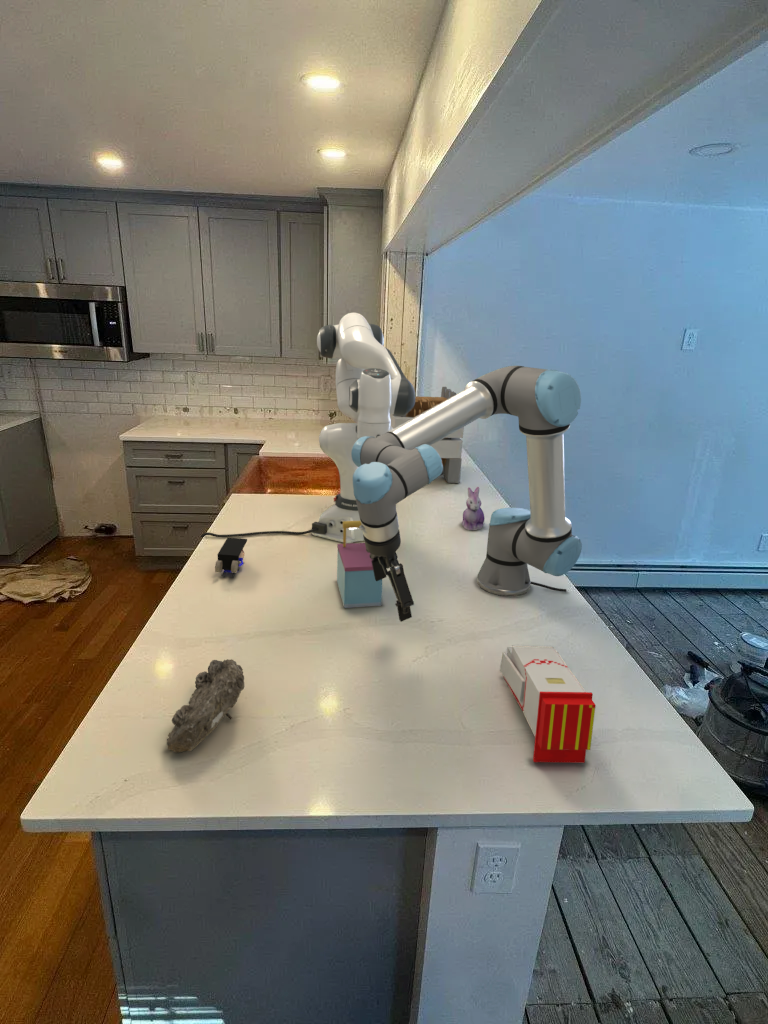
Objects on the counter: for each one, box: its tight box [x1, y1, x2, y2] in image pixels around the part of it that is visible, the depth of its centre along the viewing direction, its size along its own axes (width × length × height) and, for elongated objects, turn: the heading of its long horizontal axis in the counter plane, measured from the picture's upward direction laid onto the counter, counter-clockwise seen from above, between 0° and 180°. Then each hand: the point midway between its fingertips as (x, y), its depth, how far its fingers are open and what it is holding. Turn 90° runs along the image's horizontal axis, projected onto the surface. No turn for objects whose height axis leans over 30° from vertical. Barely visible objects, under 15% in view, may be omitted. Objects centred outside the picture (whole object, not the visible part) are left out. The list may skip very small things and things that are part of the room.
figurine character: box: [214, 537, 248, 578], centre depth 166 cm, size 7×8×15 cm
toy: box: [499, 645, 597, 764], centre depth 112 cm, size 12×13×30 cm
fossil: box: [166, 658, 245, 754], centre depth 106 cm, size 22×10×15 cm
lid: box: [336, 521, 373, 571], centre depth 152 cm, size 16×10×9 cm, turn 12°
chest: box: [336, 549, 384, 609], centre depth 156 cm, size 15×10×10 cm, turn 12°
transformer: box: [390, 386, 465, 484], centre depth 268 cm, size 34×33×41 cm
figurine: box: [461, 486, 485, 531], centre depth 207 cm, size 9×10×15 cm
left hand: (372, 481), depth 156 cm, fingers open, 8 cm apart
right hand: (392, 597), depth 130 cm, fingers open, 13 cm apart
